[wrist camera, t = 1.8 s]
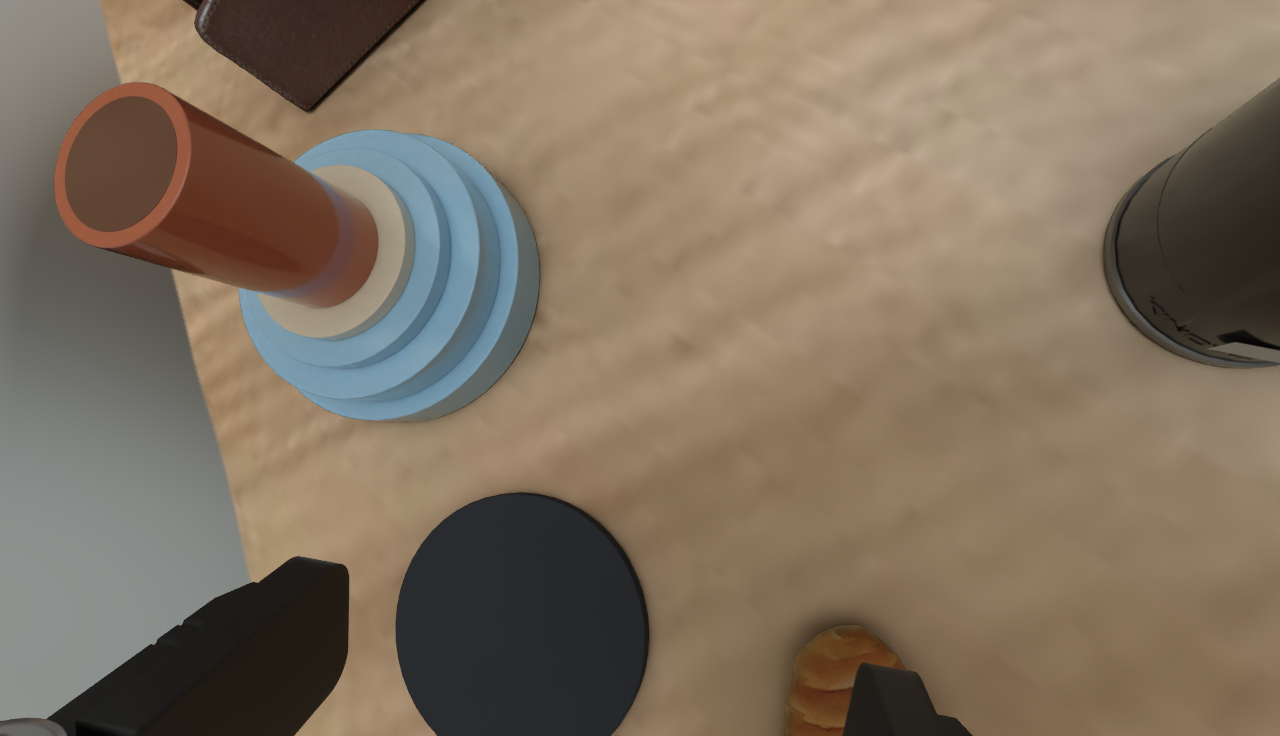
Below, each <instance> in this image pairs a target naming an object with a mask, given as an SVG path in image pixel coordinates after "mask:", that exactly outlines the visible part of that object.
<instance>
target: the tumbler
mask: <svg viewBox="0 0 1280 736" xmlns="http://www.w3.org/2000/svg"><path fill="white" fill-rule="evenodd" d="M54 190H55V198H56V204H57V207H58V210H59V213H60V215H61V217H62V220H63V222H64V223H65V225H66V226H67V228H68V229H69V230H70V231H71V232H72V233H73V234H74V235H75V236H76V237H77V238H79V239H80V240H81V241H83V242H85V243H87V244H88V245H91V246H94V247H98V248H101V249H105V250H108V251H112V252H115V253H119V254H122V255H126V256H129V257H133V258H137V259H140V260H143V261H147V262H150V263H154V264H157V265H161V266H164V267H168V268H171V269H175V270H178V271H182V272H186V273H189V274H193V275H196V276H200V277H203V278H207V279H210V280H214V281H217V282H221V283H224V284H228V285H231V286H235V287H238V288H242V289H245V290H249V291H252V292H256V293H259V294H263V295H266V296H270V297H274V298H277V299H281V300H284V301H288V302H291V303H295V304H298V305H302V306H305V307H309V308H328V307H332V306H335V305H338V304H340V303H342V302H344V301H346V300H347V299H349V298H350V297H351V296H353V295H354V294H355V293H356V292H357V291H358V290H359V289H360V288H361V287H362V286H363V284H364V283H365V282H366V280H367V278H368V277H369V275H370V273H371V271H372V269H373V266H374V263H375V260H376V256H377V250H378V234H377V228H376V225H375V222H374V219H373V217H372V215H371V213H370V212H369V210H368V209H367V207H366V206H365V205H364V204H363V203H362V202H361V201H360V200H358V199H357V198H355V197H354V196H352V195H350V194H349V193H347V192H345V191H343V190H342V189H340V188H338V187H336V186H335V185H333V184H331V183H329V182H327V181H326V180H324V179H322V178H320V177H319V176H317V175H315V174H313V173H312V172H310V171H308V170H306V169H305V168H303V167H301V166H299V165H298V164H296V163H294V162H292V161H291V160H289V159H287V158H285V157H283V156H282V155H280V154H278V153H276V152H275V151H273V150H271V149H269V148H268V147H266V146H264V145H262V144H261V143H259V142H257V141H255V140H254V139H252V138H250V137H248V136H246V135H245V134H243V133H241V132H239V131H238V130H236V129H234V128H232V127H231V126H229V125H227V124H225V123H224V122H222V121H220V120H218V119H217V118H215V117H213V116H211V115H210V114H208V113H206V112H204V111H202V110H201V109H199V108H197V107H195V106H194V105H192V104H190V103H188V102H187V101H185V100H183V99H181V98H180V97H178V96H176V95H174V94H173V93H171V92H169V91H167V90H166V89H164V88H162V87H159V86H157V85H154V84H150V83H144V82H133V83H126V84H122V85H119V86H116V87H114V88H111V89H109V90H108V91H106V92H104V93H102V94H101V95H99V96H98V97H97V98H95V99H94V100H93V101H92V102H91V103H90V104H88V105H87V106H86V108H85V109H84V110H83V111H82V112H81V113H80V114H79V116H78V117H77V118H76V120H75V121H74V122H73V124H72V126H71V127H70V129H69V131H68V132H67V135H66V136H65V139H64V141H63V143H62V146H61V148H60V151H59V155H58V159H57V163H56V168H55V178H54Z"/></svg>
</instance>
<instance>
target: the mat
mask: <svg viewBox="0 0 1280 736" xmlns="http://www.w3.org/2000/svg"><path fill="white" fill-rule="evenodd" d="M648 641H649V629H648V616H647V610H646V605H645V600H644V596H643V593H642V590H641V586H640V583H639V580H638V578H637V576H636V573H635V571H634V569H633V567H632V565H631V563H630V561H629V559H628V558H627V556H626V555H625V553H624V551H623V550H622V548H621V547H620V545H619V544H618V543H617V542H616V541H615V539H614V538H613V537H612V536H611V534H610V533H609V532H608V531H607V530H606V529H605V528H604V527H603V526H601V525H600V524H599V523H598V522H597V521H596V520H595V519H593V518H592V517H591V516H589V515H588V514H586V513H585V512H584V511H582V510H580V509H578V508H577V507H575V506H573V505H571V504H569V503H567V502H564V501H562V500H559V499H556V498H554V497H550V496H545V495H541V494H534V493H508V494H501V495H496V496H491V497H487V498H483V499H481V500H478V501H475V502H473V503H470V504H468V505H466V506H464V507H463V508H461V509H459V510H457V511H455V512H454V513H453V514H451V515H450V516H449V517H447V518H446V519H444V520H443V521H442V522H441V523H440V524H439V525H438V526H437V527H436V528H435V529H434V530H433V531H432V532H431V533H430V534H429V536H428V537H427V538H426V539H425V541H424V542H423V543H422V544H421V546H420V548H419V549H418V551H417V552H416V554H415V556H414V557H413V559H412V561H411V563H410V566H409V568H408V570H407V572H406V574H405V578H404V581H403V584H402V587H401V590H400V595H399V600H398V604H397V613H396V645H397V653H398V659H399V663H400V667H401V672H402V676H403V678H404V681H405V684H406V686H407V689H408V692H409V694H410V696H411V698H412V700H413V702H414V704H415V706H416V708H417V709H418V711H419V712H420V714H421V715H422V717H423V718H424V720H425V721H426V723H427V724H428V725H429V726H430V728H431V729H432V730H433V731H434V732H435V733H436V735H437V736H611V735H612V733H613V732H614V731H615V730H616V729H617V728H618V726H619V725H620V723H621V722H622V720H623V719H624V717H625V715H626V714H627V712H628V711H629V709H630V707H631V706H632V704H633V701H634V699H635V697H636V695H637V693H638V691H639V688H640V685H641V682H642V678H643V675H644V672H645V667H646V661H647V655H648Z"/></svg>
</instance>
